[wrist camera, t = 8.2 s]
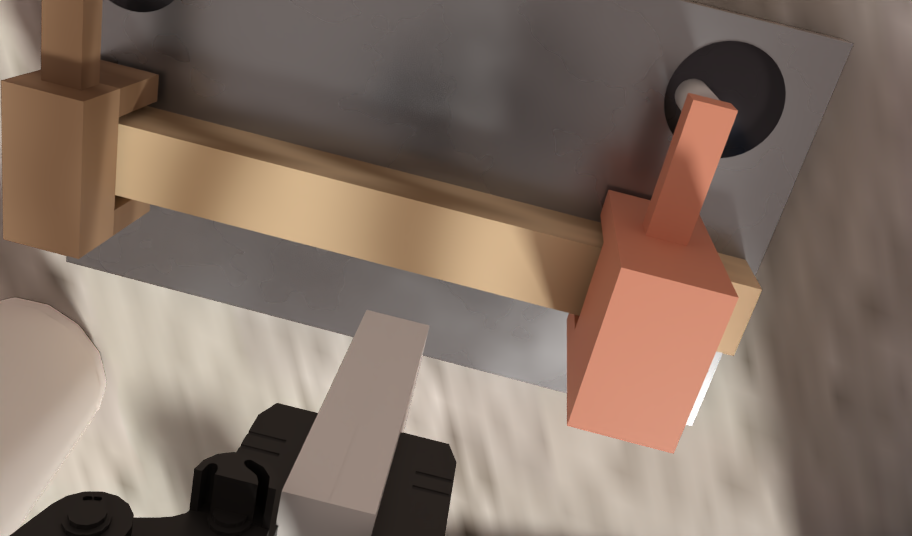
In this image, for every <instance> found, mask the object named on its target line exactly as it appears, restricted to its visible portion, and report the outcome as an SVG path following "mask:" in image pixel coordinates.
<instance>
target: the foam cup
mask: <svg viewBox="0 0 912 536" xmlns="http://www.w3.org/2000/svg"><path fill="white" fill-rule="evenodd" d="M106 384H107V380H106V376H105V372H104V368H103V364H102V360H101V356H100V352H99V351H98V350H97V348H96V347H95V346H94V344H93V343H92V342H91V340H90V339H89V338H88V336H87V335H86V334H85V332H84V331H83V330H82V328H81V327H80V326H79V324H77V323H75V322H74V321H72V320H71V319H69V318H68V317H66V316H65V315H63V314H62V313H60V312H59V311H57V310H56V309H54V308H53V307H51V306H50V305H48V304H43V303H39V302H34V301H30V300H25V299H21V298H16V297H14V298H9V299H5V300H0V536H10V535H11V534H12V533H14V532H15V531H16V530H18V528H19V527H20V525H21V524H22V522H23V521H24V519H25V518H26V516H27V515H28V514H29V512H30V511H31V509H32V508H33V506H34V505H35V503H36V502H37V500H38V499H39V497H40V496H41V494H42V493H43V492H44V490H45V489H46V487H47V486H48V484H49V483H50V481H51V480H52V478H53V477H54V475H55V474H56V472H57V471H58V469H59V468H60V467H61V465H62V464H63V462H64V461H65V459H66V458H67V456H68V455H69V453H70V452H71V450H72V449H73V447H74V446H75V445H76V443H77V442H78V440H79V439H80V437H81V436H82V434H83V433H84V431H85V430H86V428H87V427H88V425H89V424H90V422H91V421H92V420H93V418H94V415H95V412H96V411H97V410H98V409H99V408H100V406H101V402H102V399H103V395H104V391H105V388H106Z"/></svg>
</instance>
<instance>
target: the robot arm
mask: <svg viewBox="0 0 912 536" xmlns="http://www.w3.org/2000/svg"><path fill="white" fill-rule="evenodd" d="M429 326H430V325H426V324H422V323H418V322H414V321H410V320H406V319H402V318H398V317H394V316H390V315H386V314H382V313H378V312H374V311H370V310H366V312H365V314H364V316H363V319H362V321H361V323H360V325H359V327H358V329H357V331H356V334H355V336H354V338H353V340H352V342H351V344H350V346H349V348H348V351H347V353H346V355H345V357H344V359H343V361H342V363H341V366H340V368H339V370H338V372H337V374H336V376H335V378H334V381H333V383H332V385H331V387H330V389H329V391H328V393H327V395H326V398H325V400H324V402H323V404H322V406H321V408H320V410H319V413H315V412H311V411H307V410H303V409H299V408H295V407H291V406H287V405H283V404H279V403H276V404H275V405H273V406H272V407H270V408H268V409H267V410H265V411H264V412H262V413H261V414H259V415H258V417H257V418H256V420H255V422H254V423H253V425H252V427H251V428H250V430H249V433H248V434H247V435H246V437H245V439H244V440H243V442H242V444H241V447H239V449H238V450H237V452H231V453H223V454H217V455H214V456H212V457H210V458H207V459H205V460H203V461H202V462H201V463H200V464H199V465H198V466H197V467H196V468H195V469H194V476H193V485H192V493H191V502H190V510H189V512H187V513H185V514H181V515H177V516H173V517H161V518H133V516H134V514H133V512H132V510H131V508H130V506H129V504H128V503H126V502H125V501H124V500H122V499H121V498H120V497H118V496H116V495H112V494H109V493H105V492H81V493H77V494H73V495H68V496H66V497H64V498H62V499H60V500H58V501H57V502H55V503H53V504H51V505H50V506H49V507H47V508H46V509H45V510H43V511H42V512H40V513H39V514H38V515H36V516H35V517H34V518H32V519H31V520H30V521H28V522H27V523H26V524H24V525H23V526H22V527H20V528H19V529H18V530H16V531H15V532H14V533H12V534H11V535H10V536H445V530H446V524H447V518H448V512H449V505H450V499H451V493H452V487H453V480H454V474H455V468H456V460H455V458H454V455H453V453H452V451H451V448H450V446H449V444H446V443H442V442H438V441H434V440H430V439H426V438H422V437H418V436H414V435H410V434H406V433H403V432H404V429H405V425H406V421H407V417H408V413H409V409H410V405H411V401H412V397H413V392H414V388H415V384H416V380H417V376H418V372H419V368H420V363H421V359H422V355H423V351H424V347H425V343H426V339H427V334H428V330H429Z"/></svg>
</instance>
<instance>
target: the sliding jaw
mask: <svg viewBox="0 0 912 536" xmlns="http://www.w3.org/2000/svg"><path fill="white" fill-rule="evenodd" d="M675 101H676V104H677V105H678V107H679V109H680V110H681V114H680V117H679V120H678V123H677V126H676V129H675V132H674V135H673V137H672V140H671V143H670V146H669V149H668V152H667V155H666V158H665V160H664V163H663V166H662V169H661V172H660V175H659V178H658V181H657V184H656V186H655V189H654V192H653V195H652V198H651V200H647V199H643V198H639V197H635V196H632V195H628V194H624V193H620V192H616V191H612V190H608V192H607V196H606V199H605V202H604V205H603V208H602V211H601V214H600V217H601V225H602V233H603V241H604V243H603V246H602V249H601V252H600V255H599V258H598V261H597V264H596V267H595V270H594V273H593V276H592V279H591V282H590V285H589V288H588V292H587V295H586V298H585V301H584V304H583V307H582V310H581V313H580V316H578V315H574V314H570V313H569V314H568V317H567V426H571V427H574V428H578V429H582V430H586V431H590V432H593V433H597V434H601V435H605V436H608V437H612V438H616V439H620V440H624V441H627V442H631V443H635V444H639V445H643V446H646V447H650V448H654V449H658V450H662V451H665V452H669V453H673V454H674V451H675V449H676V447H677V444H678V442H679V439H680V437H681V435H682V432H683V430H684V428H685V425H686V423H687V420H688V418H689V416H690V413H691V411H692V408H693V406H694V404H695V401H696V399H697V396H698V394H699V392H700V389H701V387H702V384H703V382H704V380H705V377H706V375H707V373H708V370H709V368H710V365H711V363H712V361H713V358H714V356H715V353H716V351H717V349H718V346H719V344H720V341H721V339H722V337H723V334H724V332H725V329H726V327H727V325H728V322H729V320H730V318H731V315H732V313H733V310H734V308H735V306H736V303H737V301H738V298H739V297H738V295H737V293H736V291H735V289H734V287H733V284H732V282H731V280H730V278H729V276H728V274H727V272H726V270H725V267H724V265H723V263H722V261H721V259H720V257H719V255H718V253H717V251H716V248H715V246H714V244H713V242H712V240H711V238H710V236H709V234H708V231H707V229H706V227H705V225H704V223H703V221H702V219H701V217H700V214H699V213H700V211H701V208H702V205H703V203H704V200H705V198H706V195H707V192H708V190H709V187H710V184H711V182H712V179H713V176H714V174H715V171H716V168H717V166H718V163H719V160H720V158H721V155H722V152H723V150H724V147H725V144H726V142H727V139H728V136H729V134H730V131H731V128H732V126H733V123H734V120H735V118H736V115H737V113H738V110H737V109H736V108H735V107H734V106H733V105H732V104H731V103H728V102H724V101H720V100H719V99H718V98H717V96H716V95H715V94H714V93H713V92H712V91H711V90H710V89H709V88H708V87H707V85H706V84H705V83H704V82H702V81H701V80H698V79H688V80H685V81H684V82H682V83H681V84H680V85H679V86H678V87H677V89H676V92H675Z"/></svg>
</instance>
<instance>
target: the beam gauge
mask: <svg viewBox="0 0 912 536" xmlns="http://www.w3.org/2000/svg"><path fill="white" fill-rule="evenodd" d="M102 1H103V0H42V17H41V70H38V71H34V72H31V73H27V74H23V75H20V76H16V77H12V78H8V79H5V80H1V116H2V189H3V239H4V240H8V241H12V242H16V243H19V244H23V245H27V246H31V247H35V248H38V249H42V250H46V251H50V252H54V253H57V254H61V255H65V256H69V257H73V258H77V259H80V258H81V257H83V256H84V255H86V254H87V253H89V252H90V251H91V250H93V249H94V248H96V247H97V246H99V245H100V244H102V243H103V242H105V241H106V240H108V239H109V238H111V237H112V236H114V235H115V234H116V233H118V232H119V231H121V230H122V229H124V228H125V227H127V226H128V225H130V224H131V223H133V222H134V221H136V220H137V219H139V218H140V217H141V216H143V215H144V214H146V213H147V212H149V211H150V204H152V205H155V206H159V207H163V208H167V209H171V210H175V211H178V212H182V213H186V214H190V215H194V216H198V217H202V218H205V219H209V220H213V221H217V222H221V223H225V224H228V225H232V226H236V227H240V228H244V229H248V230H251V231H255V232H259V233H263V234H267V235H271V236H275V237H278V238H282V239H286V240H290V241H294V242H298V243H301V244H305V245H309V246H313V247H317V248H321V249H324V250H328V251H332V252H336V253H340V254H344V255H348V256H351V257H355V258H359V259H363V260H367V261H371V262H374V263H378V264H382V265H386V266H390V267H394V268H398V269H401V270H405V271H409V272H413V273H417V274H421V275H424V276H428V277H432V278H436V279H440V280H444V281H447V282H451V283H455V284H459V285H463V286H467V287H471V288H474V289H478V290H482V291H486V292H490V293H494V294H497V295H501V296H505V297H509V298H513V299H517V300H520V301H524V302H528V303H532V304H536V305H540V306H544V307H547V308H551V309H555V310H559V311H563V312H567V313H570V314H574V315H578V316H580V313H581V310H582V307H583V304H584V301H585V298H586V295H587V292H588V288H589V285H590V282H591V279H592V276H593V273H594V270H595V267H596V264H597V261H598V258H599V255H600V252H601V249H602V246H603V243H604V241H603V233H602V225H601V223H600V222H597V221H593V220H589V219H585V218H581V217H577V216H573V215H569V214H565V213H562V212H558V211H554V210H550V209H546V208H542V207H538V206H534V205H530V204H527V203H523V202H519V201H515V200H511V199H507V198H503V197H499V196H495V195H492V194H488V193H484V192H480V191H476V190H472V189H468V188H464V187H460V186H457V185H453V184H449V183H445V182H441V181H437V180H433V179H429V178H425V177H421V176H418V175H414V174H410V173H406V172H402V171H398V170H394V169H390V168H386V167H383V166H379V165H375V164H371V163H367V162H363V161H359V160H355V159H351V158H348V157H344V156H340V155H336V154H332V153H328V152H324V151H320V150H316V149H313V148H309V147H305V146H301V145H297V144H293V143H289V142H285V141H281V140H278V139H274V138H270V137H266V136H262V135H258V134H254V133H250V132H246V131H243V130H239V129H235V128H231V127H227V126H223V125H219V124H215V123H211V122H207V121H204V120H200V119H196V118H192V117H188V116H184V115H180V114H176V113H172V112H169V111H165V110H161V109H157V108H153V107H149V106H147V105H149V104H152V103H154V102H156V101H157V96H158V81H159V74H155V73H151V72H147V71H143V70H139V69H135V68H131V67H127V66H124V65H120V64H116V63H112V62H108V61H104V60H100V54H101V27H102ZM718 255H719V257H720V259H721V261H722V263H723V265H724V267H725V270H726V272H727V274H728V276H729V278H730V280H731V282H732V284H733V287H734V289H735V291H736V293H737V295H738V297H739V298H738V301H737V303H736V306H735V308H734V310H733V313H732V315H731V318H730V320H729V322H728V325H727V327H726V329H725V332H724V334H723V337H722V339H721V341H720V344H719V346H718V349H717V351H716V352H720V353H724V354H728V355H732V356H734V354H735V352H736V350H737V347H738V345H739V343H740V340H741V338H742V336H743V333H744V331H745V329H746V326H747V324H748V322H749V319H750V317H751V315H752V312H753V310H754V308H755V305H756V303H757V301H758V298H759V296H760V294H761V291H762V288H761V287H760V285H759V283H758V281H757V279H756V277H755V276H754V274H753V272H752V270H751V268H750V266H749V265H748V263H747V261H746V260H744V259H741V258H737V257H733V256H729V255H725V254H721V253H718Z"/></svg>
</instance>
